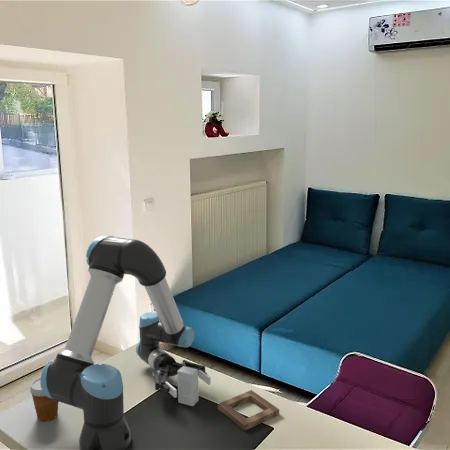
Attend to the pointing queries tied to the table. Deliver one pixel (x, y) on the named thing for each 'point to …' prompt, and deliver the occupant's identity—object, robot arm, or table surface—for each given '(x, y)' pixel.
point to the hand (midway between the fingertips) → (193, 387)
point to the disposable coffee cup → (43, 403)
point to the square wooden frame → (254, 420)
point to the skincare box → (187, 386)
